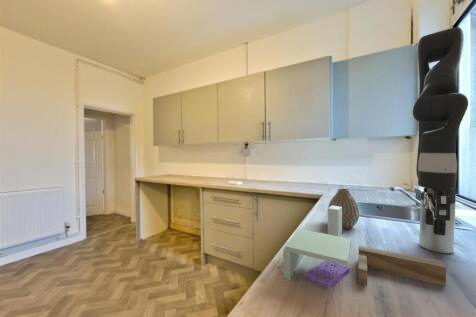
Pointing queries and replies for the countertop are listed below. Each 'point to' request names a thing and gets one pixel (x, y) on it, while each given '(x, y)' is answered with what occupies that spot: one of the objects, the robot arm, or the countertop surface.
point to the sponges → (327, 273)
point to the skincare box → (335, 220)
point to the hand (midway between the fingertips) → (434, 229)
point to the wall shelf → (314, 249)
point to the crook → (400, 265)
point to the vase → (346, 208)
